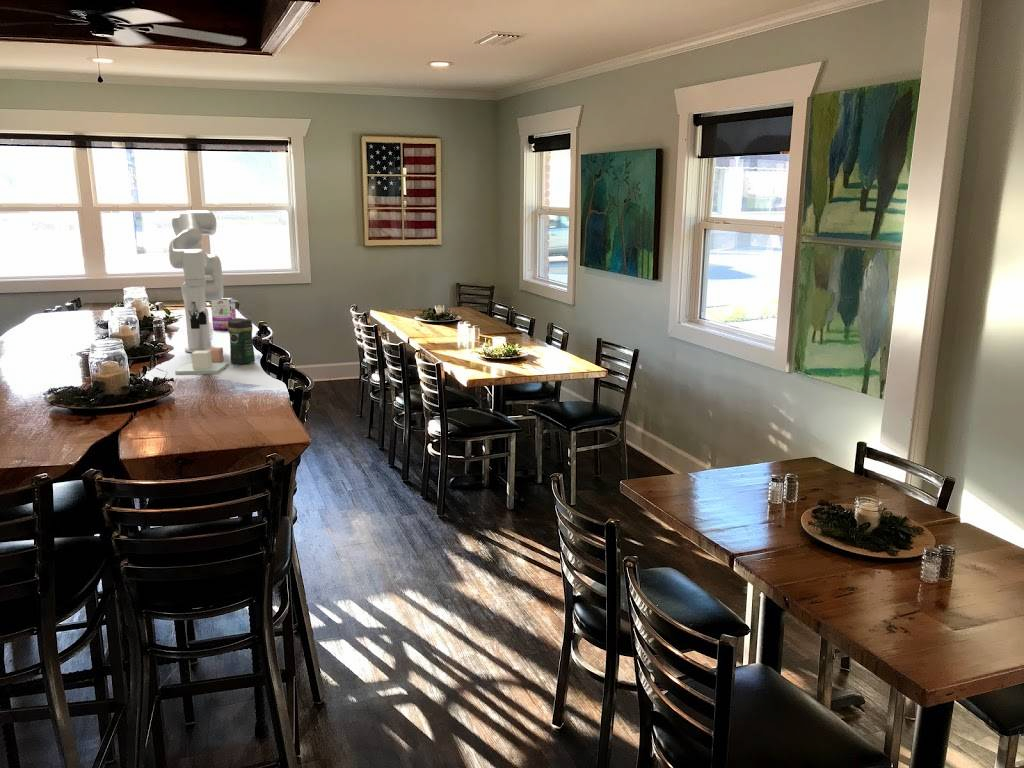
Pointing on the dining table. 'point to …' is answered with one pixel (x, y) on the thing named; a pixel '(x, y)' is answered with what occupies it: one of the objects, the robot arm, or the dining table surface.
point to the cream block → (201, 359)
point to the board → (202, 369)
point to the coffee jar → (241, 341)
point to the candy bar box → (222, 312)
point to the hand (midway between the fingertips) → (199, 326)
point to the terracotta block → (216, 354)
